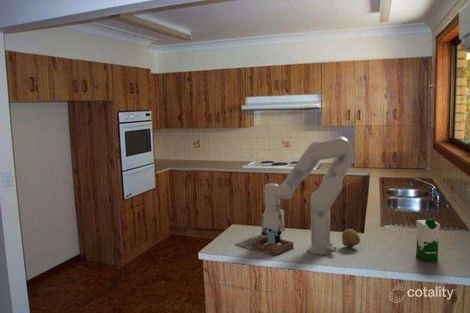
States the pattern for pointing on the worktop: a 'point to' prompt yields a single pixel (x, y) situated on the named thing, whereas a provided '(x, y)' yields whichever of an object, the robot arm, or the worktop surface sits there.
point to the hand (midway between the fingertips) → (273, 241)
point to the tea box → (272, 229)
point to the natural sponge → (350, 238)
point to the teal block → (271, 237)
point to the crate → (272, 246)
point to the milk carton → (427, 239)
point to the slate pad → (246, 244)
